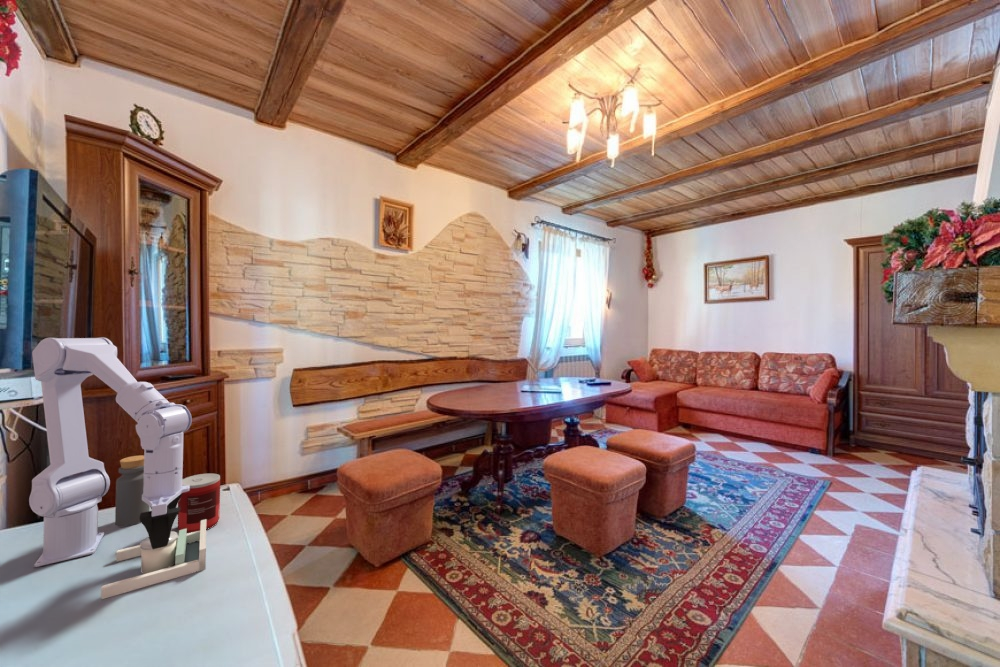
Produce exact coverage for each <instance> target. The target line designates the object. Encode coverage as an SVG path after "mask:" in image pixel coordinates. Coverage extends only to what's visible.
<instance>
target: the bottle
mask: <svg viewBox="0 0 1000 667" xmlns="http://www.w3.org/2000/svg"><path fill="white" fill-rule="evenodd" d="M119 463H120V467H118V474H121V476H119V477H118V478H116V480H115V515H114V516H115V520H114V521H115V526H116V527H118V528H121V527H122V528H123V527H124V528H125V527H130V526H131V527H132V526H134V525H138V524H140V523H141V522H140V519H139V516H140V514H141V513H143V512H148V511H150V508H151V507H150V506H149V505H148V504H147V503H145V502H144V501H143V500H142V494H143V486H144V454H143V455H132V456H127V457H125V458H122V459H120V460H119ZM141 524H142V523H141Z"/></svg>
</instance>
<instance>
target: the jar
mask: <svg viewBox="0 0 1000 667" xmlns="http://www.w3.org/2000/svg"><path fill="white" fill-rule="evenodd" d="M178 535H179V533H178V532H176V531H172V530H171V534H170V538H169V542H168V545H167V546H165V547H161V548H157V549H152V546H151V543H150V539H149V536H147V537H145V538H144V539H143V540H141V541H140V542H139V545H140V548H141V549H142V555H141V556H140V557H141V558H140V560H141V561H140V563H141V564H140V572H141V571H142V572H143V574H147V573H150V572H154V571H158V570H161V569H165V568H169V567H172V566H174V564H175V555H176V549H177V547H176V539H177V537H178ZM142 572H141V573H142Z"/></svg>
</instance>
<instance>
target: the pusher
mask: <svg viewBox="0 0 1000 667" xmlns="http://www.w3.org/2000/svg"><path fill="white" fill-rule="evenodd" d="M186 538H187V528H186V529H182V530H178V542H177V547H176V555H175V563H174V564H175V565H174V566H176V565H179V564H183V563H185V558H186V550H187V549H186V548H187V544H186Z"/></svg>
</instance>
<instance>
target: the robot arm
mask: <svg viewBox="0 0 1000 667" xmlns="http://www.w3.org/2000/svg"><path fill="white" fill-rule="evenodd" d="M31 353H32V363H33V373H34V377H35V381H37V382H40V383H41V392H42V393H41V394H42V400H43V401H42V402H43V408H44V419H45V429H46V437H47V446H48V447H47V448H48V454H49V463H50V465H48V466H47V467H46V468H45V469H43V470H42V471H41V472H40V473H38V474H37V475H36V476H34V477H33V478H32V480H31V491H30V494H29V499H28V502H29V504H28V505H29V507H30V509H31V510H32V512H33V513H35V514H36V515H37V516H39V517H43V535H42V536H43V537H42V538H43V540H42V541H43V543H42V544H43V546H42V548H43V549H42V554H41V555H40V556H39V558H38V559H37V560H36V562H35V563H34V564H33V567H34V568H38V567H42V566H46V565H50V564H54V563H59V562H63V561H67V560H72V559H76V558H80V557H84V556H89V555H93V554H94V553H95V552H96V550H97V548H99V547H98V546H99V544H100V543H101V540H102V538H103V537H104V534H105V532H104V531H101V532H98V530H99V527H98V526H99V507H98V503H102V501H103V500H102V497H104V496H105V495H106V494H107V493H108V491H109V489H110V485H111V480H110V477H109V474H108V473H107V472H106V468H105V462H103V461H100V460H98V459H94V458H93V457H90V456H89V455H90V454H89V449H88V448H89V446H88V438H87V430H86V423H85V422H86V421H85V414H84V406H83V405H84V404H83V396H82V387H81V386H82V385H81V384H82V383H83V382H84V381H85V380H86V379H87V378H88V377H91V376H93V375H94V376H96V377H97V378H98V379H99V380H101V381H102V382H103V383H104V384H105V385H107V386H108V387H109V388H111V389H112V390H113V391H114V392H116V396H115V402H116V404H118V405H119V407H121V408H122V409H123V410H124V411H125V412H126V414H128V415H129V416H130V417H131V418H132V419H133V420H134V421H135V422H136V424H135V432H136V433H137V435H138V437H139V440H140V447H141V449H142V450H144V452H143V453H144V454H143V455H144V486H143V494H142V500H143V501H144V502H145V503H147V504H148V505H149V506H150V507H149V508H150V509H151V510H149V511H148V512H143V513H141V514H140V516H139V519H140V522H141V524H142V525H143V527H144V528H145V530H146V531H147V535H148V537H149V539H150V543H151V546H152V549H157V548H161V547H165V546H167V545H168V542H169V538H170V534H171V531H172V528H173V525H174V522H175V520H176V518H178V513H179V511H180V507H178V501H179V499H180V497H181V495H182V494H183V492H188V491H189V490H190V486H189V485H186V486H182V480H183V472H184V471H183V468H184V464H183V462H184V433H185V432H187V431H188V430H189V429H190V427H191V425H192V422H193V421H192V419H193V418H192V414H191V412H190V410H189V409H188V408H187V406H186V405H183V404H176V403H175V402H170V401H168V399H167V398H165V396H163V395H162V394H161V393H160V392H159V391H158V390H157V389H156V388H155V386H154V385H153V384H152V383H151V382H147V381H137V379H136V378H135V377H134V376H133V375H132V373H131V372H130V371H129V370H128V369H127V368H126V366H125V365H124V364H123V363H122V362H121V360H120V359H119V358H118V346H116V345H114V344H113V341H111V340H110V339H109V338H107V337H104V336H103V337H102V336H101V337H85V338H84V337H81V338H80V337H72V338H71V337H67V338H66V337H65V338H64V337H62V338H60V337H59V338H57V337H46V338H44V339H42V340H40V341H39V343H37V345H36V346H35V348H34V349H33V350H32V352H31Z"/></svg>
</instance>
